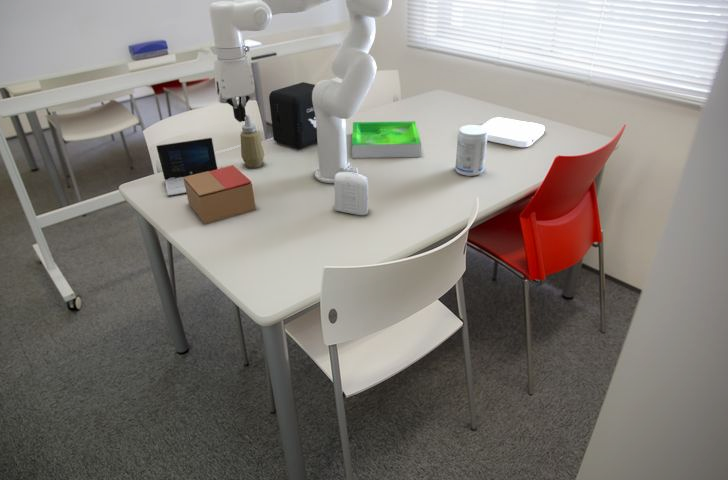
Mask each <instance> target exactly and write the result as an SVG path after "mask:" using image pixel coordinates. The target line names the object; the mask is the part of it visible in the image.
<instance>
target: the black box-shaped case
mask: <svg viewBox="0 0 728 480" xmlns="http://www.w3.org/2000/svg"><path fill="white" fill-rule="evenodd" d="M315 85H316V84H314V83H309V82H304V81H303V82H299V83H296V84H292V85H288V86H285V87H281V88H278V89H275V90H272V91H271V92H270V94H269V97H268V101H269V109H270V110H269V111H270V119H271V128H272V136H273V141H274V142H275V143H278V144H280V145H284V146H287V147H290V148H293V149H296V150H298V151H299V150H302V149H305V148H308V147H310V146H312V145H316V144H318V142H317V125H316V116H315V111H314V107H313V102H312V92H313V89H314V87H315Z"/></svg>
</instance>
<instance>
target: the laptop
mask: <svg viewBox="0 0 728 480" xmlns="http://www.w3.org/2000/svg"><path fill="white" fill-rule="evenodd" d="M214 147H215V146H214V141H213V137H206V138H199V139H198V138H197V139H191V140H185V141H179V142H171V143H164V144H163V143H162V144H157V145H156V151H157V155H158V159H159V163H160V167H161V171H162V176H163V179H164V184H165V191H166V195H167V196H176V195H182V194H187V193H186V188H185V184H184V178H183V177H186V176H190V175H194V174H198V173H203V172H207V171H212V170H216V169H218V164H217V159H216V154H215V153H216V152H215V148H214Z"/></svg>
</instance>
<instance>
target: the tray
mask: <svg viewBox="0 0 728 480" xmlns="http://www.w3.org/2000/svg"><path fill="white" fill-rule="evenodd" d="M351 133H352V135H351V158H352V159H363V158H364V159H366V158H367V159H368V158H371V159H372V158H421V151H422V142H421V138H420V134H419V131H418V127H417V122H416V121H415V120H414V121H413V120H411V121H410V120H407V121H353V122H352V132H351Z"/></svg>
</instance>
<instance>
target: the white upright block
mask: <svg viewBox="0 0 728 480" xmlns="http://www.w3.org/2000/svg"><path fill="white" fill-rule="evenodd" d="M333 184H334V186H333V188H334V209H335V211H337V212H341V213H346V214H350V215H351V214H352V215H357V216H366V215H368V213H369V179H368V177H367V176H365V175H363V174H361V173H359V172H358V173H353V172H339V173H337V174H336V175H335V179H334V183H333Z"/></svg>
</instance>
